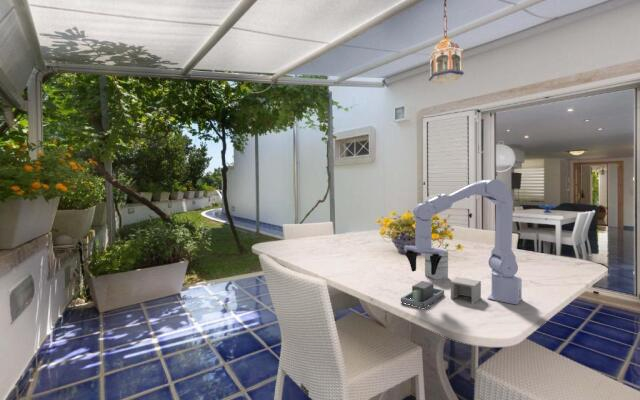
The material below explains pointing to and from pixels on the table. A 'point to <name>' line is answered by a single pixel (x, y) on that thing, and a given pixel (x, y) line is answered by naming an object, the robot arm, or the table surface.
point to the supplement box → (441, 268)
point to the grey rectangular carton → (422, 291)
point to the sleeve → (466, 288)
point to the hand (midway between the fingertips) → (423, 272)
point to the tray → (437, 295)
